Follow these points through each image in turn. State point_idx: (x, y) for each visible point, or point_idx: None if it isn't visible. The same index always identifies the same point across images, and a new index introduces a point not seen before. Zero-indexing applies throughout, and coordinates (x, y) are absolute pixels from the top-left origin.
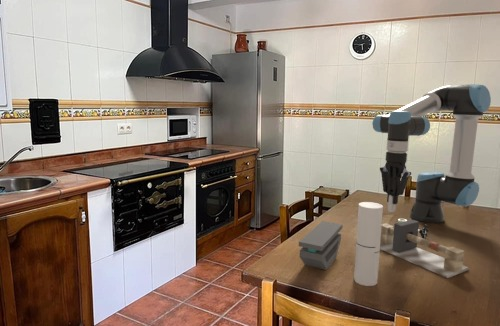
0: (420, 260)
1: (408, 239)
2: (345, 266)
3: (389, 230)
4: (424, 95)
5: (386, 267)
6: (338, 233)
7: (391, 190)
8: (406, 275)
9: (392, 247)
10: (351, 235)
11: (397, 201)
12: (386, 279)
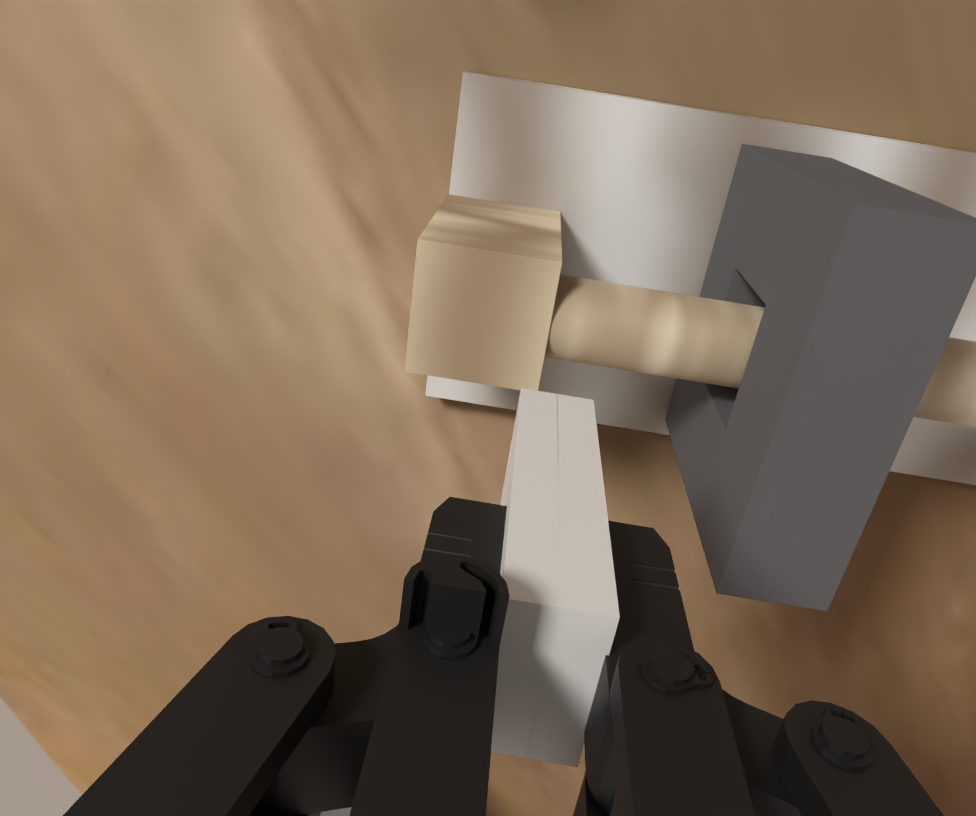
0: (952, 426)
1: None
2: (551, 791)
3: (558, 357)
4: None
5: (751, 651)
6: (333, 812)
7: (424, 718)
8: (910, 662)
9: (668, 429)
10: (149, 312)
11: (671, 572)
12: None
